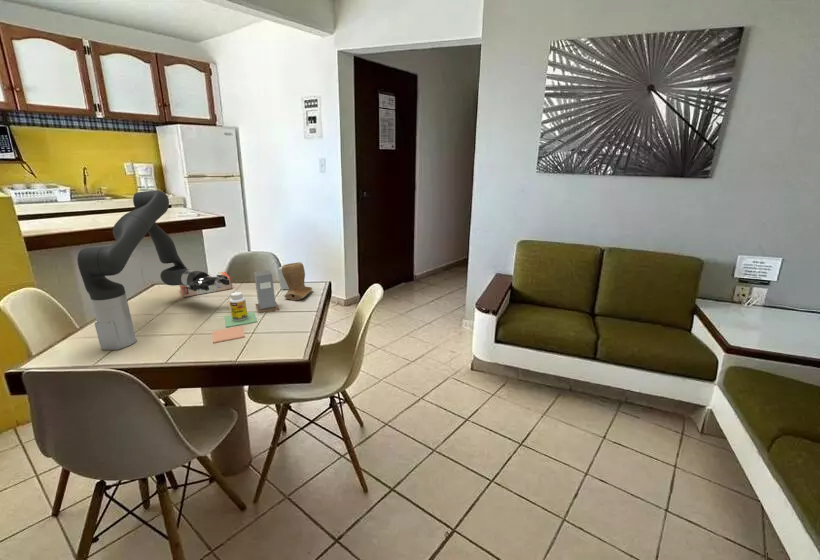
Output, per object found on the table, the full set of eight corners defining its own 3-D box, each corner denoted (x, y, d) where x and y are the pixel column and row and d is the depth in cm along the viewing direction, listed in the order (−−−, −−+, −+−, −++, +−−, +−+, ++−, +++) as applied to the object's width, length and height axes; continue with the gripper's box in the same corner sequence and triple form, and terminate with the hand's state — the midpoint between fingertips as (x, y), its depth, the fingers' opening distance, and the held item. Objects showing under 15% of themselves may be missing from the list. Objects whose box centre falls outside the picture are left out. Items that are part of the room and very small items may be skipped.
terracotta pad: (244, 337, 138) (244, 336, 138) (213, 343, 134) (212, 342, 134) (242, 327, 147) (242, 325, 147) (212, 332, 143) (212, 331, 143)
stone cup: (290, 290, 188) (287, 259, 184) (315, 290, 187) (312, 259, 182) (277, 301, 173) (273, 267, 169) (303, 301, 172) (300, 268, 168)
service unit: (279, 310, 163) (274, 274, 159) (258, 313, 160) (253, 277, 155) (275, 303, 171) (271, 269, 166) (255, 306, 167) (251, 271, 163)
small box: (292, 290, 188) (289, 268, 185) (280, 290, 188) (277, 268, 185) (297, 284, 196) (294, 264, 193) (285, 285, 196) (283, 264, 193)
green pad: (257, 322, 151) (257, 321, 151) (225, 327, 147) (225, 326, 146) (254, 312, 161) (254, 311, 161) (224, 317, 156) (224, 316, 156)
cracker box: (230, 276, 189) (180, 285, 178) (232, 288, 191) (183, 298, 180) (224, 270, 200) (177, 278, 189) (226, 282, 202) (180, 290, 191)
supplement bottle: (230, 322, 150) (226, 296, 147) (233, 316, 156) (229, 291, 153) (246, 320, 151) (242, 295, 148) (249, 315, 157) (245, 290, 154)
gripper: (176, 274, 157) (199, 280, 149) (210, 267, 169) (233, 271, 160) (179, 292, 159) (202, 299, 151) (213, 284, 171) (236, 289, 162)
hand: (218, 285), depth 156 cm, fingers open, 8 cm apart
